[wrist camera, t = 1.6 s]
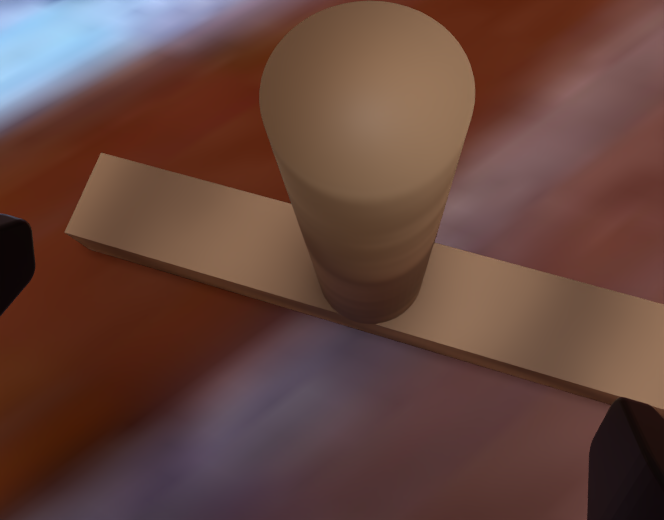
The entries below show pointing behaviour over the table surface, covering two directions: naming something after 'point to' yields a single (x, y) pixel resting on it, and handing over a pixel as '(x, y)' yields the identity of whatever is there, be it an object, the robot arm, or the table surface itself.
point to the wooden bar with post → (374, 216)
